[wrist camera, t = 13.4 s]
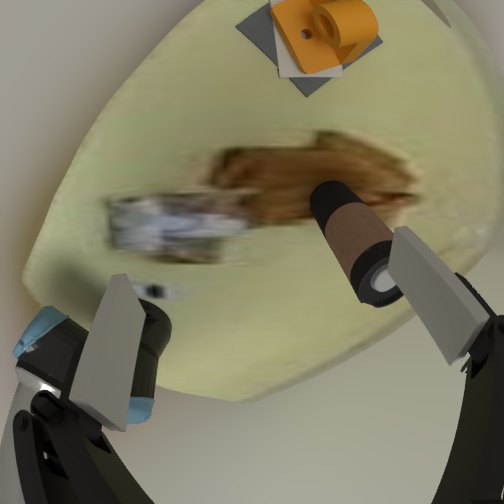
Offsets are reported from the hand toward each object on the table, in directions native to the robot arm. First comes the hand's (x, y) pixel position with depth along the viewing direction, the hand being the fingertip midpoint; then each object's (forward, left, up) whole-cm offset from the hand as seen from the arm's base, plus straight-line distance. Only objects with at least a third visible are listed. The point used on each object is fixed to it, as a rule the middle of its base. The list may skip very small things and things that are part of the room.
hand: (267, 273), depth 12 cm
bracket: (+11, +15, -28) cm, 33 cm away
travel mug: (+13, -11, -29) cm, 33 cm away
